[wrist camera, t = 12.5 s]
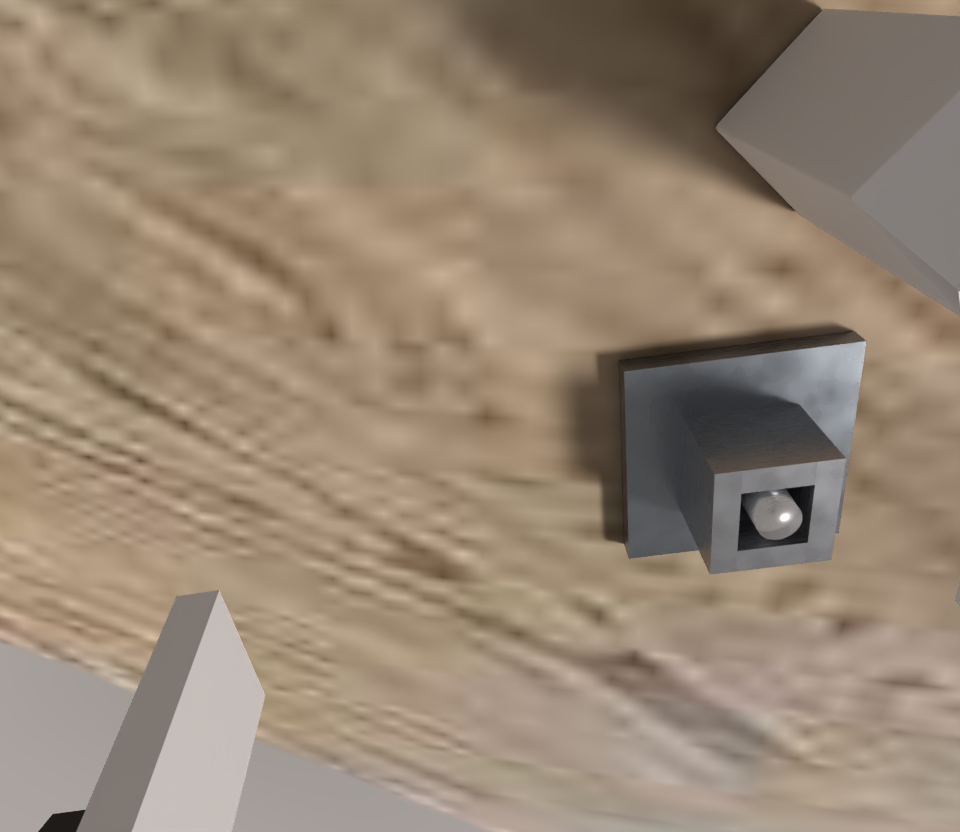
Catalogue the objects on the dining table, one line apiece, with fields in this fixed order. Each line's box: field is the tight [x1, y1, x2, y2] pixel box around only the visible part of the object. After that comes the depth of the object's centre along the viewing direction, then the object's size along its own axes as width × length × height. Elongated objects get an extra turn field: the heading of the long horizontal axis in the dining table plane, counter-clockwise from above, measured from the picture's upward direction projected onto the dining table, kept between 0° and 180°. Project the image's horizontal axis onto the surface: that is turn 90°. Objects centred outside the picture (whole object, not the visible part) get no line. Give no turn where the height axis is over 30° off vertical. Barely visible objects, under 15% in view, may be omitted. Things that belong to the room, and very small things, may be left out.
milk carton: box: [716, 9, 960, 316], centre depth 31 cm, size 7×7×19 cm
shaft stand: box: [619, 331, 866, 559], centre depth 45 cm, size 14×14×8 cm
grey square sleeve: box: [681, 405, 846, 574], centre depth 45 cm, size 7×7×6 cm
